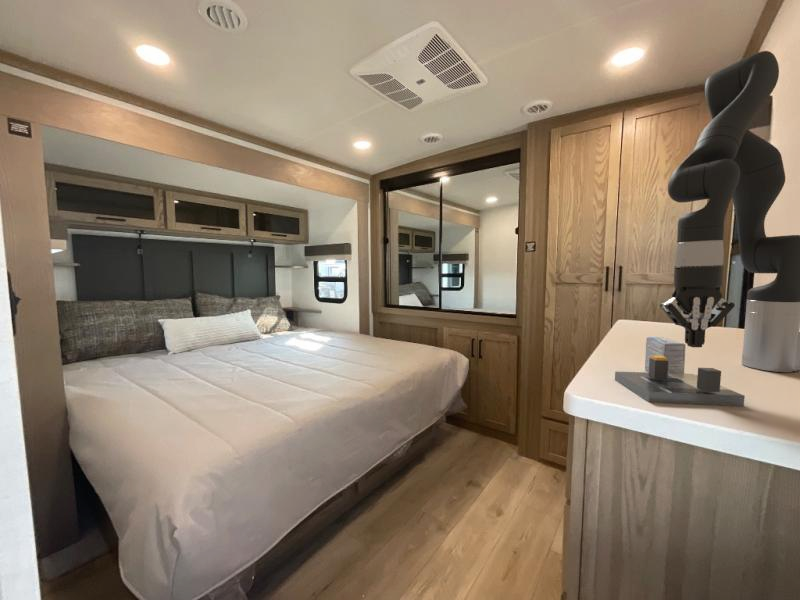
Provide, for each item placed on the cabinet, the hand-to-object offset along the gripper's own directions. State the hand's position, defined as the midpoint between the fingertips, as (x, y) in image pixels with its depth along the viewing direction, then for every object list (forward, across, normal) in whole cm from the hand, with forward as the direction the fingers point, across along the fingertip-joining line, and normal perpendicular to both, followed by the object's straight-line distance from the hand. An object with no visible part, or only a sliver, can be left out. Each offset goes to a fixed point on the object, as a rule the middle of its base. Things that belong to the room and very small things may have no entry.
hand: (694, 346), depth 70 cm
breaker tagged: (+6, +8, +1) cm, 10 cm away
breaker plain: (+7, +3, +8) cm, 10 cm away
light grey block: (+9, 0, -9) cm, 13 cm away
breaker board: (+9, +6, +3) cm, 11 cm away
